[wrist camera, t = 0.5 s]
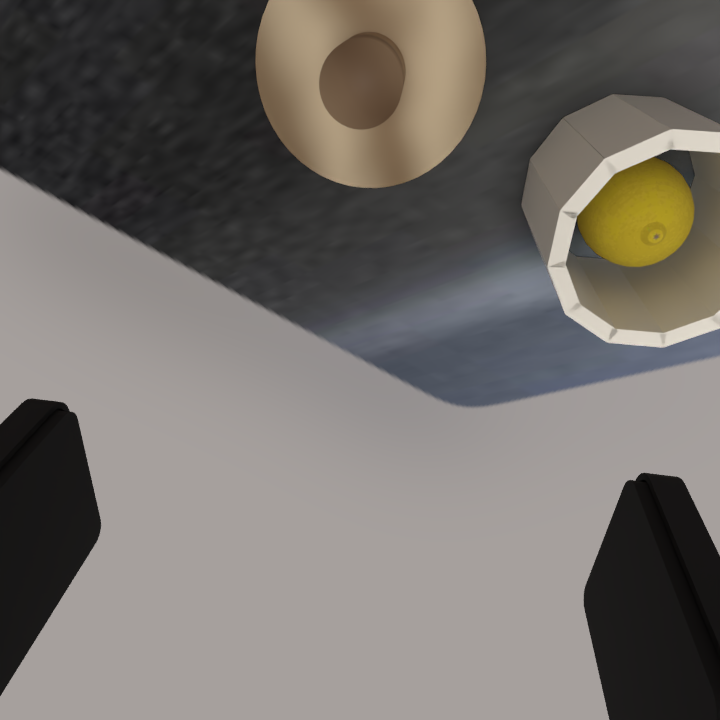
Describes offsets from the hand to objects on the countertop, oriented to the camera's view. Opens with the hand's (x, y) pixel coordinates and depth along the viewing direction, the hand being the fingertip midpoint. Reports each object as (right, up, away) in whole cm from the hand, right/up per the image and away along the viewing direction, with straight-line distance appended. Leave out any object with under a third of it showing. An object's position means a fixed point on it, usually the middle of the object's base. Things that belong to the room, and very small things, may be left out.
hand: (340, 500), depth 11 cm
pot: (+15, +12, +25) cm, 32 cm away
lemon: (+15, +13, +26) cm, 32 cm away
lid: (+1, +19, +24) cm, 30 cm away
